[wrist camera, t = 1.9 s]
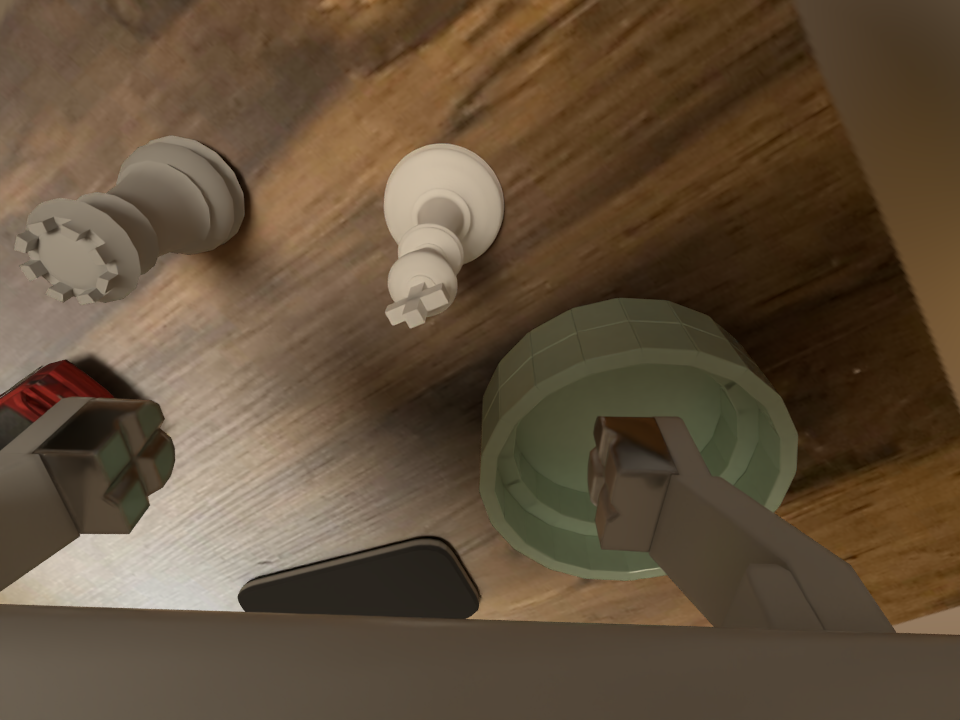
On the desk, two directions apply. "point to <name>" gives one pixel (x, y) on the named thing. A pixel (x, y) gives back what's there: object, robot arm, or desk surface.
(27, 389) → the toy car
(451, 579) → the smartphone
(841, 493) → the desk surface
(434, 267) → the chess piece
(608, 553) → the bowl
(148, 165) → the rook chess piece
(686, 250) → the desk surface
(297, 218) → the desk surface
